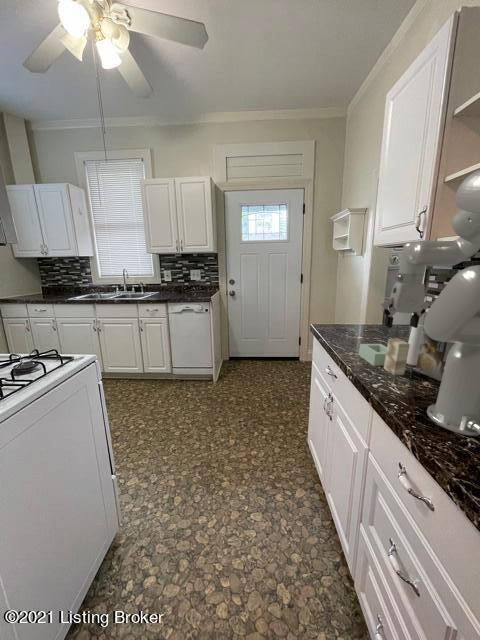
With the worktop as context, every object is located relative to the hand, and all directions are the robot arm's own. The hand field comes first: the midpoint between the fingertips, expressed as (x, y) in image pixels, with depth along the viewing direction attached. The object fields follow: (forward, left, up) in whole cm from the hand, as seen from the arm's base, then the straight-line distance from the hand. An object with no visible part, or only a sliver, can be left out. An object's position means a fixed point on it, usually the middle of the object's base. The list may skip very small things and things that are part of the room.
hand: (400, 326), depth 96 cm
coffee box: (-4, -13, -18) cm, 22 cm away
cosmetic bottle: (+7, -13, -18) cm, 23 cm away
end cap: (+10, 0, -17) cm, 20 cm away
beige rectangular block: (-1, 0, -17) cm, 17 cm away
